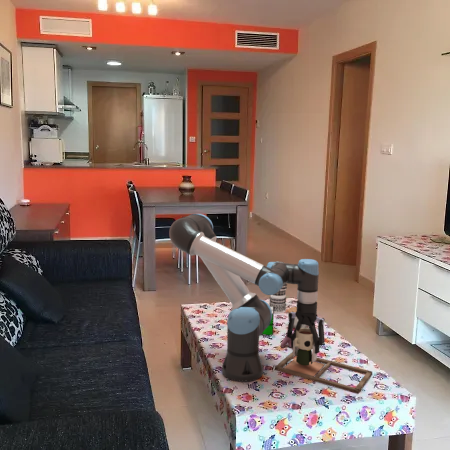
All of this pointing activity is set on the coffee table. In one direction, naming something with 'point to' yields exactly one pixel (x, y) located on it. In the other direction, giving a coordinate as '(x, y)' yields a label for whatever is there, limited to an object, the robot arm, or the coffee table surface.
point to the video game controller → (285, 341)
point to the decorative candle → (279, 299)
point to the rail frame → (320, 372)
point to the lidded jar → (295, 317)
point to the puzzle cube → (270, 328)
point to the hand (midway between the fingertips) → (304, 358)
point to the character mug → (304, 346)
